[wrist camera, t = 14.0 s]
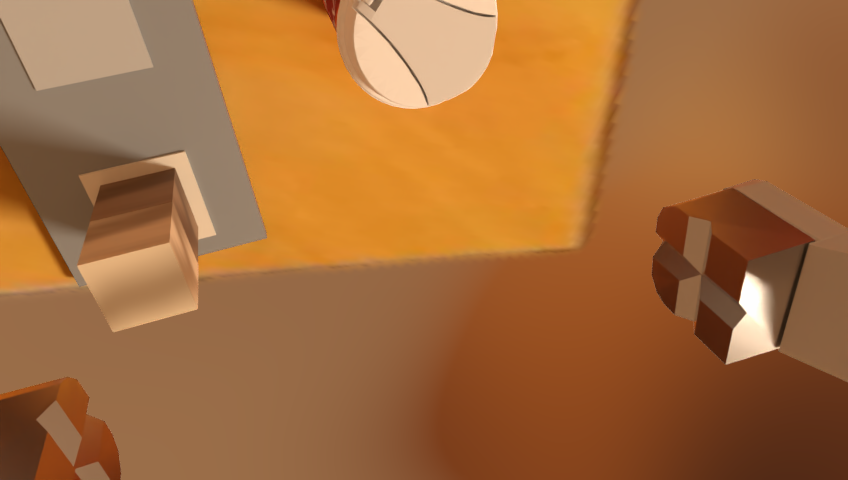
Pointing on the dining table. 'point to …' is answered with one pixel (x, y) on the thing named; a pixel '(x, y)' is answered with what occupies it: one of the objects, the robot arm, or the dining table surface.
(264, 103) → the dining table surface
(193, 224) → the walnut block
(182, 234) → the maple block
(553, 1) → the dining table surface
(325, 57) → the dining table surface
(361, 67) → the coffee cup
